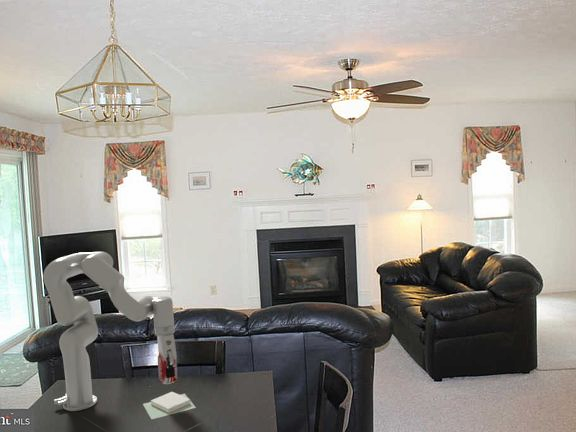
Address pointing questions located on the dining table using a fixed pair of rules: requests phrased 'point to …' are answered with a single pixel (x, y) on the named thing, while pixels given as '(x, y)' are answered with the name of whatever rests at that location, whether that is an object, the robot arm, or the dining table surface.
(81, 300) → the robot arm
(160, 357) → the soda can
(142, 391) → the dining table surface
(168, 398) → the tile
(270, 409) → the dining table surface
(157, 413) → the mat
